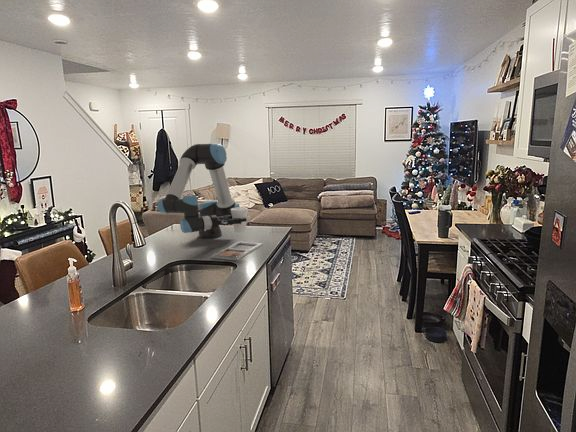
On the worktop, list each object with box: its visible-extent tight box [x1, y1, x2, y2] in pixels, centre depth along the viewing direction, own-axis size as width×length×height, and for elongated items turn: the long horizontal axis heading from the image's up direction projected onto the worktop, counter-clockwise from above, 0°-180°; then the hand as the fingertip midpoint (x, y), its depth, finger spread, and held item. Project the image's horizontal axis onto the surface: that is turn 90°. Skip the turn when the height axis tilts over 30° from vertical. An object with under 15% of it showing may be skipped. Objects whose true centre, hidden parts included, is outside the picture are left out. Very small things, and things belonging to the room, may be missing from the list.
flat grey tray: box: [210, 241, 263, 261], centre depth 220 cm, size 31×16×1 cm, turn 158°
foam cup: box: [231, 206, 249, 233], centre depth 220 cm, size 10×9×13 cm
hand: (246, 217), depth 222 cm, fingers closed on foam cup, 9 cm apart
